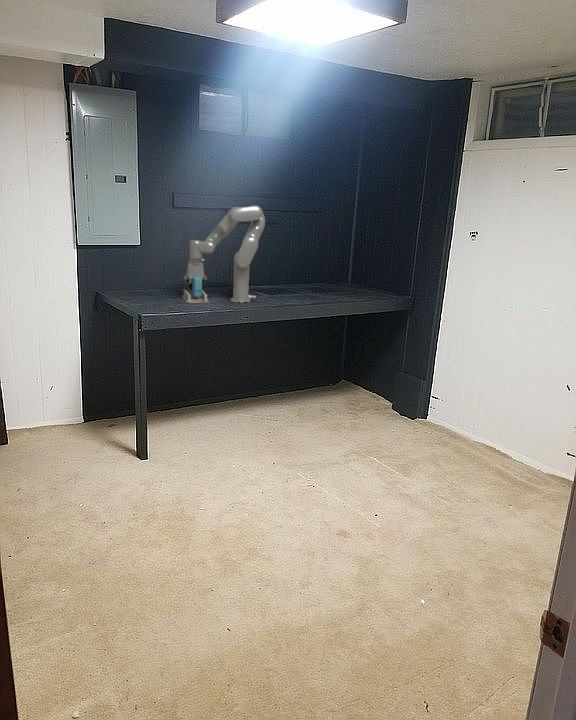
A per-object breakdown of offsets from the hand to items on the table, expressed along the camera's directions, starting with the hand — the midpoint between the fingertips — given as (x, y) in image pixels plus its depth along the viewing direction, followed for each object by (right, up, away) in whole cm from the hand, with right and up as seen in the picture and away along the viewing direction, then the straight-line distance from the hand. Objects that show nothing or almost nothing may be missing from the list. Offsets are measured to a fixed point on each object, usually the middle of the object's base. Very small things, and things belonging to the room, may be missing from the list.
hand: (195, 289), depth 364 cm
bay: (0, -6, +2) cm, 6 cm away
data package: (0, -4, +1) cm, 4 cm away
